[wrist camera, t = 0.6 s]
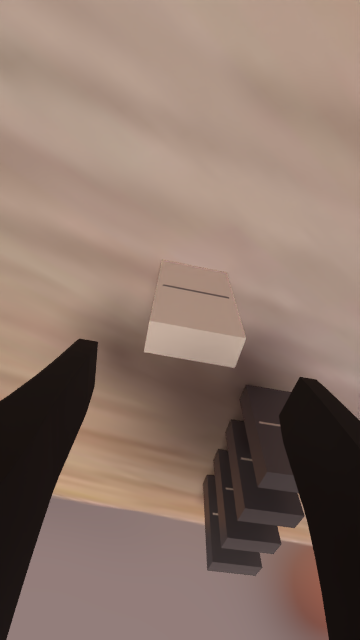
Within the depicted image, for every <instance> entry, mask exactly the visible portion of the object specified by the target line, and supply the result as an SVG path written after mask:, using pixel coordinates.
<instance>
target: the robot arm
mask: <svg viewBox="0 0 360 640" xmlns="http://www.w3.org/2000/svg"><path fill="white" fill-rule="evenodd" d="M97 347H98V342H95V341H90V340H84V339H79V340H77V341H76V342H74V343H73V344H72V345H71V346H70V347H69V348H68V349H67V350H66V351H65V352H63V353H62V354H61V355H60V356H59V357H58V358H56V359H55V360H54V361H53V362H52V363H51V364H49V365H48V366H47V367H46V368H44V369H43V370H42V371H41V372H39V373H38V374H37V375H36V376H34V377H33V378H32V379H31V380H29V381H28V382H26V383H25V384H24V385H22V386H21V387H20V388H18V389H17V390H15V391H14V392H13V393H11V394H10V395H9V396H7V397H6V398H4V399H3V400H1V401H0V640H6V638H7V635H8V632H9V629H10V625H11V622H12V618H13V615H14V612H15V608H16V605H17V602H18V599H19V595H20V592H21V589H22V585H23V582H24V579H25V576H26V573H27V570H28V566H29V563H30V560H31V557H32V554H33V551H34V548H35V545H36V542H37V538H38V535H39V532H40V529H41V526H42V523H43V520H44V517H45V514H46V511H47V508H48V505H49V502H50V499H51V496H52V493H53V490H54V488H55V485H56V482H57V480H58V477H59V475H60V473H61V470H62V468H63V466H64V463H65V461H66V459H67V457H68V454H69V452H70V450H71V447H72V445H73V443H74V440H75V438H76V436H77V434H78V431H79V429H80V427H81V424H82V422H83V420H84V417H85V415H86V412H87V409H88V406H89V403H90V400H91V396H92V393H93V389H94V386H95V373H96V360H97ZM279 421H280V427H281V433H282V439H283V444H284V447H285V450H286V454H287V457H288V460H289V463H290V467H291V470H292V473H293V476H294V479H295V482H296V486H297V489H298V492H299V495H300V498H301V501H302V504H303V508H304V511H305V515H306V518H307V522H308V526H309V531H310V536H311V540H312V545H313V550H314V554H315V559H316V565H317V570H318V575H319V581H320V586H321V591H322V597H323V604H324V610H325V616H326V623H327V629H328V636H329V640H360V421H359V420H358V419H357V418H356V417H355V416H354V415H353V414H352V413H351V412H350V411H349V410H348V409H347V408H346V407H345V406H344V405H343V404H342V403H341V402H340V401H339V400H338V399H337V398H336V397H335V396H334V395H332V394H331V393H330V392H329V391H328V390H327V389H326V388H325V387H324V386H323V385H322V384H320V383H319V382H318V381H317V380H315V379H309V378H303V377H300V378H299V380H298V381H297V383H296V385H295V387H294V389H293V390H292V392H291V394H290V396H289V398H288V400H287V401H286V403H285V405H284V407H283V409H282V411H281V412H280V414H279Z"/></svg>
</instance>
